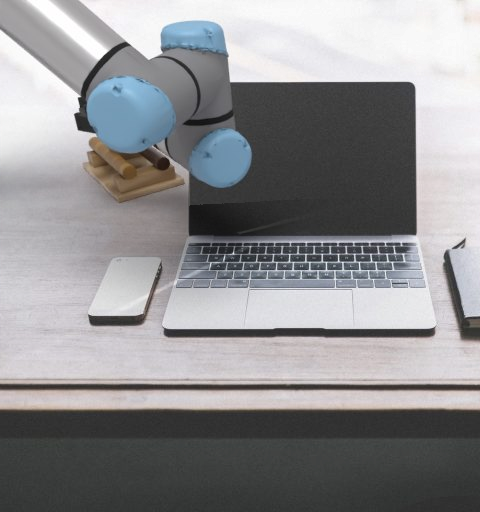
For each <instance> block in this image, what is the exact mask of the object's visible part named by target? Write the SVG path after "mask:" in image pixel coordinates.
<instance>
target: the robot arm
mask: <svg viewBox="0 0 480 512" xmlns="http://www.w3.org/2000/svg"><path fill="white" fill-rule="evenodd" d="M0 31H1V32H2V33H3V34H5V35H6V36H7V37H8V38H9V39H11V40H12V41H13V42H14V43H16V44H17V45H18V46H19V47H20V48H21V49H23V50H24V51H25V52H26V53H27V54H29V55H30V56H31V57H32V58H34V60H36V61H37V62H38V63H40V64H41V65H42V66H43V67H44V68H46V69H47V70H48V71H49V72H50V73H52V74H53V75H54V76H55V77H57V78H58V79H59V80H60V81H61V82H62V83H64V84H65V85H66V86H67V87H69V88H70V90H72V91H73V92H74V93H76V94H77V95H78V97H77V101H78V106H79V108H78V112H77V111H76V112H75V113H73V115H74V121H75V125H76V128H77V129H76V130H77V131H78V132H84V133H89V134H94V135H95V137H98V138H99V139H100V140H101V141H102V142H103V143H104V144H105V145H107V146H108V147H110V148H111V149H114V150H116V151H119V152H123V153H138V152H141V151H143V150H145V149H147V148H149V147H151V146H152V147H153V148H154V149H156V150H157V151H158V152H160V153H161V154H163V155H164V156H166V157H167V158H168V159H171V160H172V161H173V162H175V163H176V164H178V165H180V166H181V167H182V168H184V169H185V170H186V171H188V172H189V173H190V174H191V175H192V176H193V177H194V178H195V179H196V180H198V181H200V182H203V183H205V184H207V185H208V186H211V187H214V188H219V189H223V188H230V187H232V186H234V185H236V184H238V183H240V181H242V180H243V179H244V178H245V176H246V175H247V173H248V171H249V170H250V167H251V165H252V159H253V153H252V147H251V146H250V143H249V142H248V140H247V139H246V138H245V137H244V136H243V134H241V132H239V131H238V130H237V129H236V119H235V113H234V108H233V98H232V97H233V96H232V86H231V76H230V67H229V65H230V64H229V57H230V54H229V53H228V51H227V44H226V43H227V42H226V38H225V31H224V29H223V27H222V26H221V25H220V24H218V23H217V22H214V21H210V20H183V21H177V22H173V23H169V24H166V25H164V26H163V27H162V28H161V32H160V51H161V52H162V53H160V54H158V55H156V56H154V57H152V58H150V59H149V58H147V57H146V56H145V55H144V54H143V53H141V51H139V50H138V49H137V48H135V47H134V46H133V45H132V44H130V42H128V41H127V40H126V39H125V38H123V37H122V36H121V35H120V34H119V33H117V31H115V30H114V29H113V28H112V27H111V26H109V24H107V23H106V22H105V21H104V20H102V19H101V18H100V17H99V16H98V15H97V14H96V13H95V12H93V10H91V9H90V8H89V7H88V6H86V5H85V4H84V2H82V1H80V0H0Z"/></svg>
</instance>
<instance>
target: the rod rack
mask: <svg viewBox="0 0 480 512" xmlns="http://www.w3.org/2000/svg"><path fill="white" fill-rule="evenodd" d="M88 146H89V148H90V149H91V150H89V151H86V155H87V160H88V161H85V162H82V168H83V169H84V170H85V171H86V172H87V173H88V174H89V176H91V177H92V178H93V179H94V180H95V181H96V182H97V183H98V184H99V186H101V187H102V188H103V189H104V190H105V191H106V192H107V193H108V194H109V195H110V196H111V197H112V198H113V199H114V200H115V201H116V202H117V203H119V204H120V203H122V202H127V201H129V200H134V199H137V198H140V197H143V196H147V195H151V194H153V193H157V192H160V191H161V192H162V191H164V190H168V189H171V188H174V187H178V186H181V185H185V178H184V177H182V176H181V175H180V174H179V173H177V172H176V169H175V165H173V164H172V163H171V161H170V158H169V157H168V156H166V155H165V154H164V153H162V152H161V151H159V150H158V149H156V148H155V147H154V146H151V147H149V148H147V149H145V150H143V151H141V152H138V153H117V152H113V151H111V150H110V148H109V147H108V146H107V145H105V144H104V143H103V142H102V141H101V140H100V139H99V138H98V137H97V136H92V137H90V138H89V140H88Z"/></svg>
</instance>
